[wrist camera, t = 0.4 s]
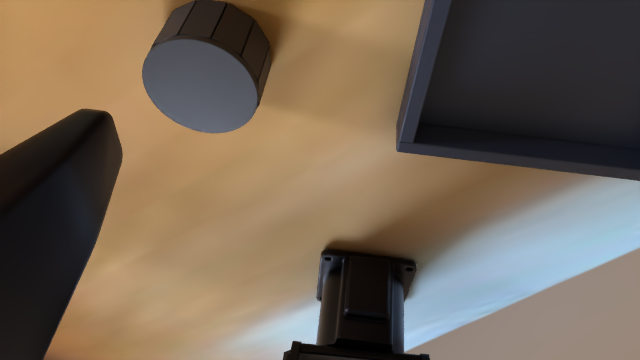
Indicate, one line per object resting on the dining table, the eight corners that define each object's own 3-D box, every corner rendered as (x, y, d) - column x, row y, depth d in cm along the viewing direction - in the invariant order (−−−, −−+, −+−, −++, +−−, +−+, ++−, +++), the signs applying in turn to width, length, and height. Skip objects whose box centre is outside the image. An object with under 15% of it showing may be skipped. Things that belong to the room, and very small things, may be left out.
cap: (271, 98, 25) (259, 139, 23) (174, 86, 25) (154, 126, 23) (269, 6, 21) (255, 46, 19) (155, -6, 21) (130, 32, 19)
